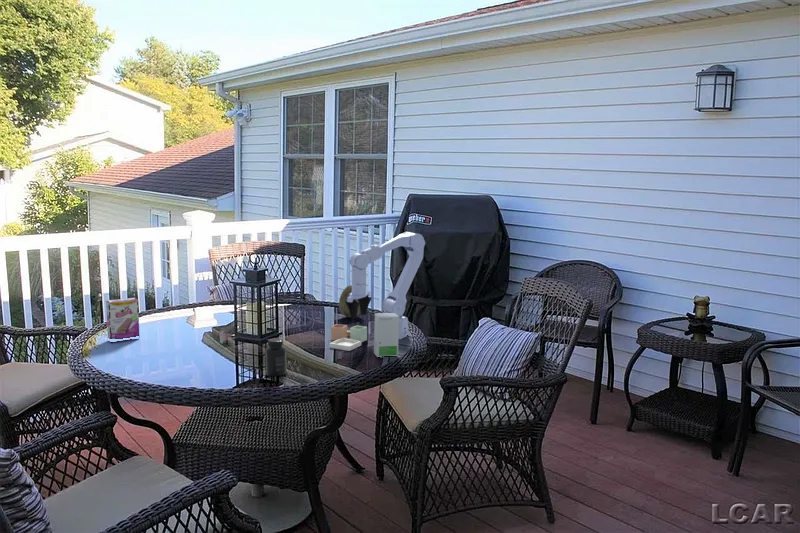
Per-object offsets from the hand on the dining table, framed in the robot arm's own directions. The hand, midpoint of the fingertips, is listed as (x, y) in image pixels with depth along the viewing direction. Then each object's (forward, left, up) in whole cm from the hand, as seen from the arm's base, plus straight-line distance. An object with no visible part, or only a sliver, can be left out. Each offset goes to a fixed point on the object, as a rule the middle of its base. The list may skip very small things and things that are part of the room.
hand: (358, 316), depth 263 cm
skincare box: (-19, +12, -10) cm, 25 cm away
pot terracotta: (+8, +2, -10) cm, 13 cm away
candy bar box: (+81, +46, -10) cm, 94 cm away
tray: (0, +10, -10) cm, 14 cm away
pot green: (0, 0, -10) cm, 10 cm away
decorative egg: (+23, -32, -10) cm, 41 cm away
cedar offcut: (+6, -6, -10) cm, 13 cm away
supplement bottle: (+3, +50, -10) cm, 51 cm away
